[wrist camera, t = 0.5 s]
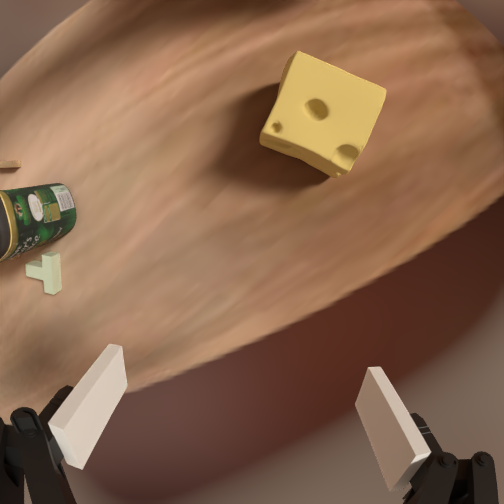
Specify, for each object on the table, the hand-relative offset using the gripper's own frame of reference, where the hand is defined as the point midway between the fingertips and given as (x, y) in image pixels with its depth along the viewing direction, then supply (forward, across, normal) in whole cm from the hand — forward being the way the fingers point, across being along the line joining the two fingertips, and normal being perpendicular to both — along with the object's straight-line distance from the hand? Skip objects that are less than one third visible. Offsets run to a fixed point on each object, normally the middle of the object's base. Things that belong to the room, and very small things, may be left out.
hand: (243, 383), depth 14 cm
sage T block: (+25, -32, -5) cm, 41 cm away
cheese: (+26, +6, +18) cm, 32 cm away
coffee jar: (+26, -30, +4) cm, 39 cm away
